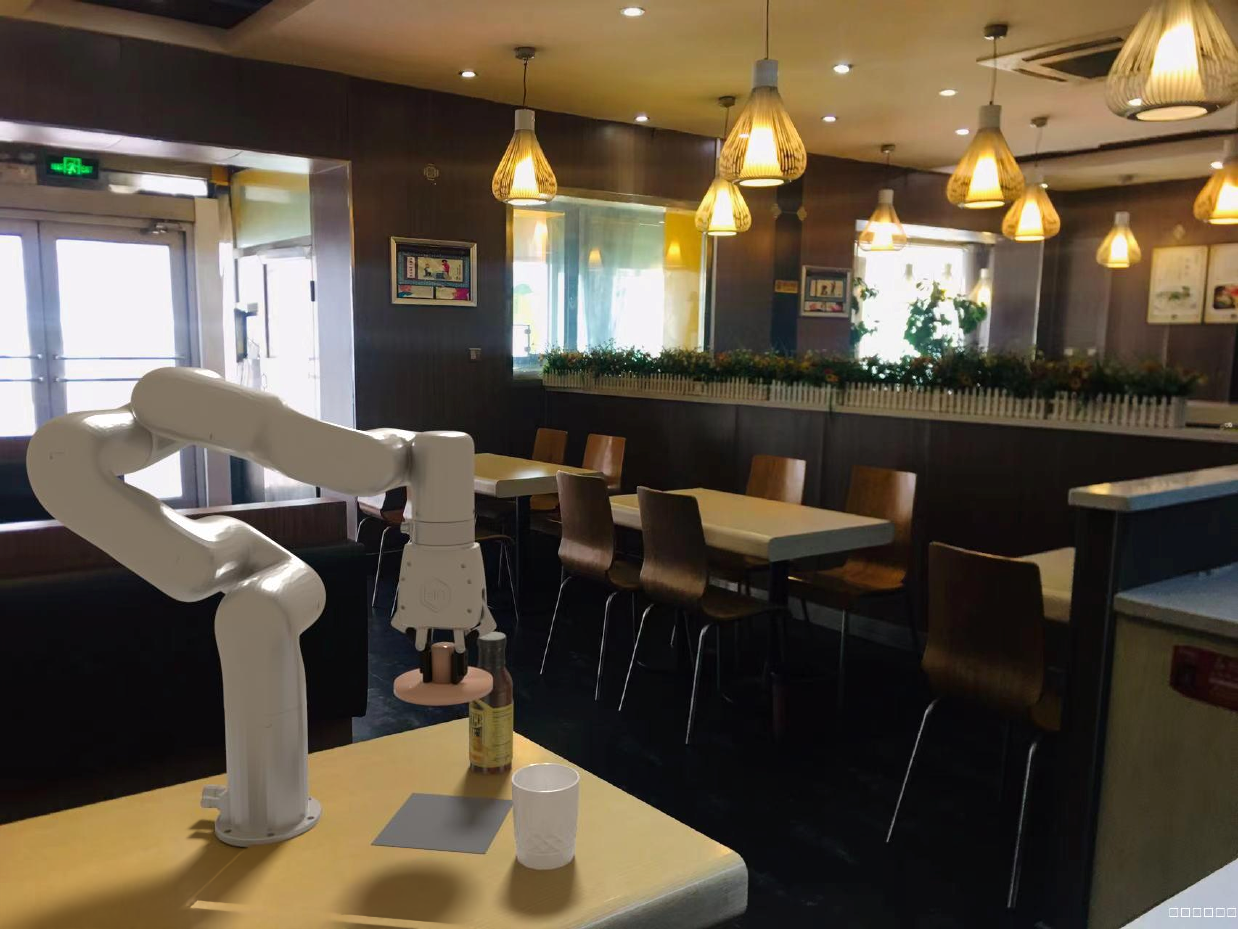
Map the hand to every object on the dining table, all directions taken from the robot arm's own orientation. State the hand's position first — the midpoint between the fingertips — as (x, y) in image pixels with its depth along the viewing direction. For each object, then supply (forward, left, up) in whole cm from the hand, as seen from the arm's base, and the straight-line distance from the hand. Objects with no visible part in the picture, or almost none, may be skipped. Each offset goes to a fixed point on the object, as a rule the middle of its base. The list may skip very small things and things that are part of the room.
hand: (443, 678), depth 116 cm
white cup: (+14, -6, -19) cm, 25 cm away
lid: (0, 0, -1) cm, 1 cm away
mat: (0, 0, -19) cm, 19 cm away
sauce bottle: (+1, +17, -19) cm, 26 cm away
